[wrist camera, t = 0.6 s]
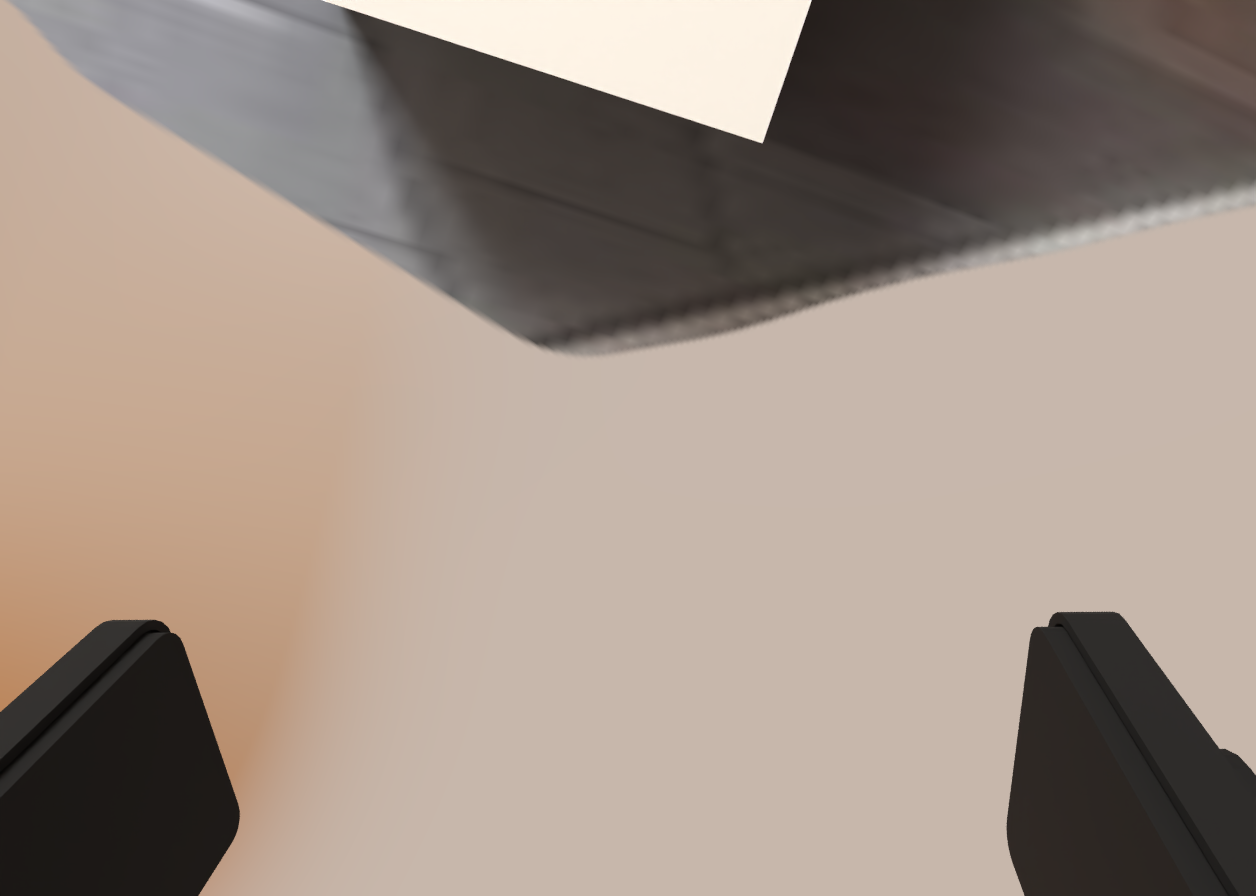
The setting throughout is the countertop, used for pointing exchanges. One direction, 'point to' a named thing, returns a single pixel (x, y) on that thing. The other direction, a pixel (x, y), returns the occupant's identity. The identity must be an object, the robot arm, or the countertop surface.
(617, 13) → the cubby shelf
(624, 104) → the countertop surface
